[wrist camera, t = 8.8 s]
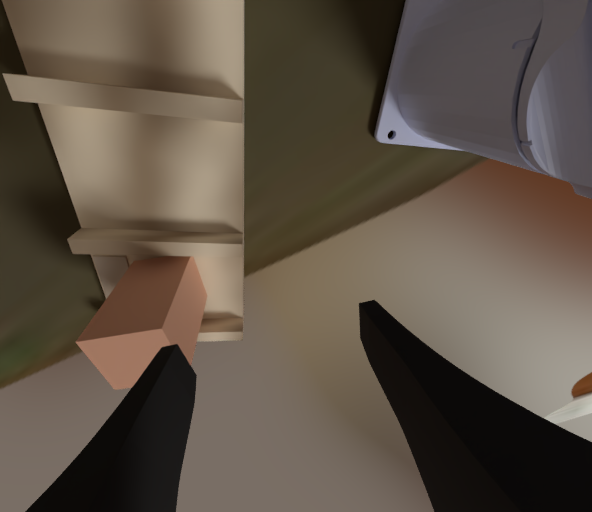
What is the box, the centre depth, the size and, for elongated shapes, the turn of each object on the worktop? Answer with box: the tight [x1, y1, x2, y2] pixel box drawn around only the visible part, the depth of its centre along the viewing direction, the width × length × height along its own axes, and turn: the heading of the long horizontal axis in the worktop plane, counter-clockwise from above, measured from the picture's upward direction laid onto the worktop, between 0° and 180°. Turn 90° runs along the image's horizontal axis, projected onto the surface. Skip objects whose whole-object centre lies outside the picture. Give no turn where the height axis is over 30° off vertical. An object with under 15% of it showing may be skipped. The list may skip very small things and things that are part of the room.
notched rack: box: [2, 0, 244, 341], centre depth 15 cm, size 10×25×2 cm, turn 174°
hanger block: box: [76, 256, 207, 390], centre depth 17 cm, size 4×4×7 cm
